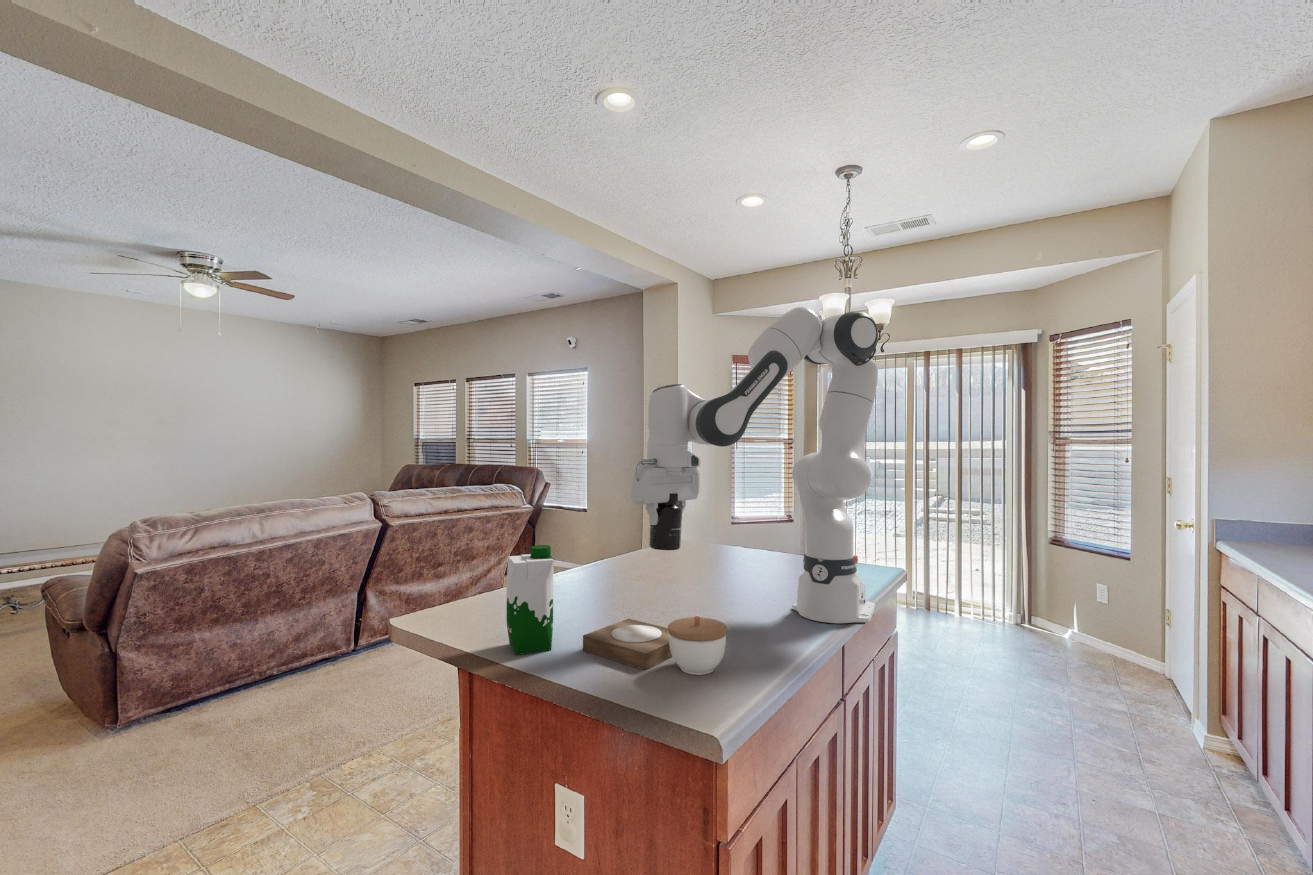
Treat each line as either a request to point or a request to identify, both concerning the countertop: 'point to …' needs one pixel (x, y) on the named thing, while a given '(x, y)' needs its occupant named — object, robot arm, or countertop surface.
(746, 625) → the countertop surface
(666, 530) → the supplement bottle
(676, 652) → the lidded jar
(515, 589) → the milk carton
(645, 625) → the brown flat wooden block
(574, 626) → the countertop surface
